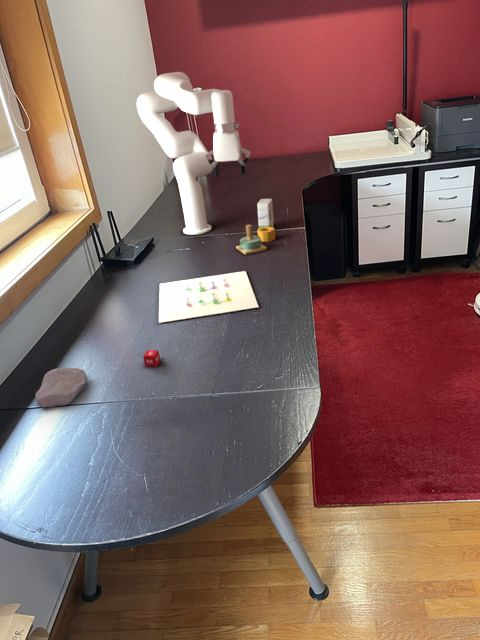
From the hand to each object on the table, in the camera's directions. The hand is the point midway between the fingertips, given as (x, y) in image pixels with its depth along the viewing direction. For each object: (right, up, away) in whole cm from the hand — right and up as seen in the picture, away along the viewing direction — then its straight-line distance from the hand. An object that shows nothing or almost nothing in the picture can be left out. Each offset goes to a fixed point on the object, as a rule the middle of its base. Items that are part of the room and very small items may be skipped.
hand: (229, 176), depth 194 cm
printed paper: (-6, -49, -31) cm, 58 cm away
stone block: (-35, -77, -72) cm, 111 cm away
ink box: (+14, -15, +23) cm, 31 cm away
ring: (+14, -21, +12) cm, 28 cm away
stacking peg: (+8, -27, +3) cm, 29 cm away
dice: (-16, -70, -64) cm, 96 cm away
